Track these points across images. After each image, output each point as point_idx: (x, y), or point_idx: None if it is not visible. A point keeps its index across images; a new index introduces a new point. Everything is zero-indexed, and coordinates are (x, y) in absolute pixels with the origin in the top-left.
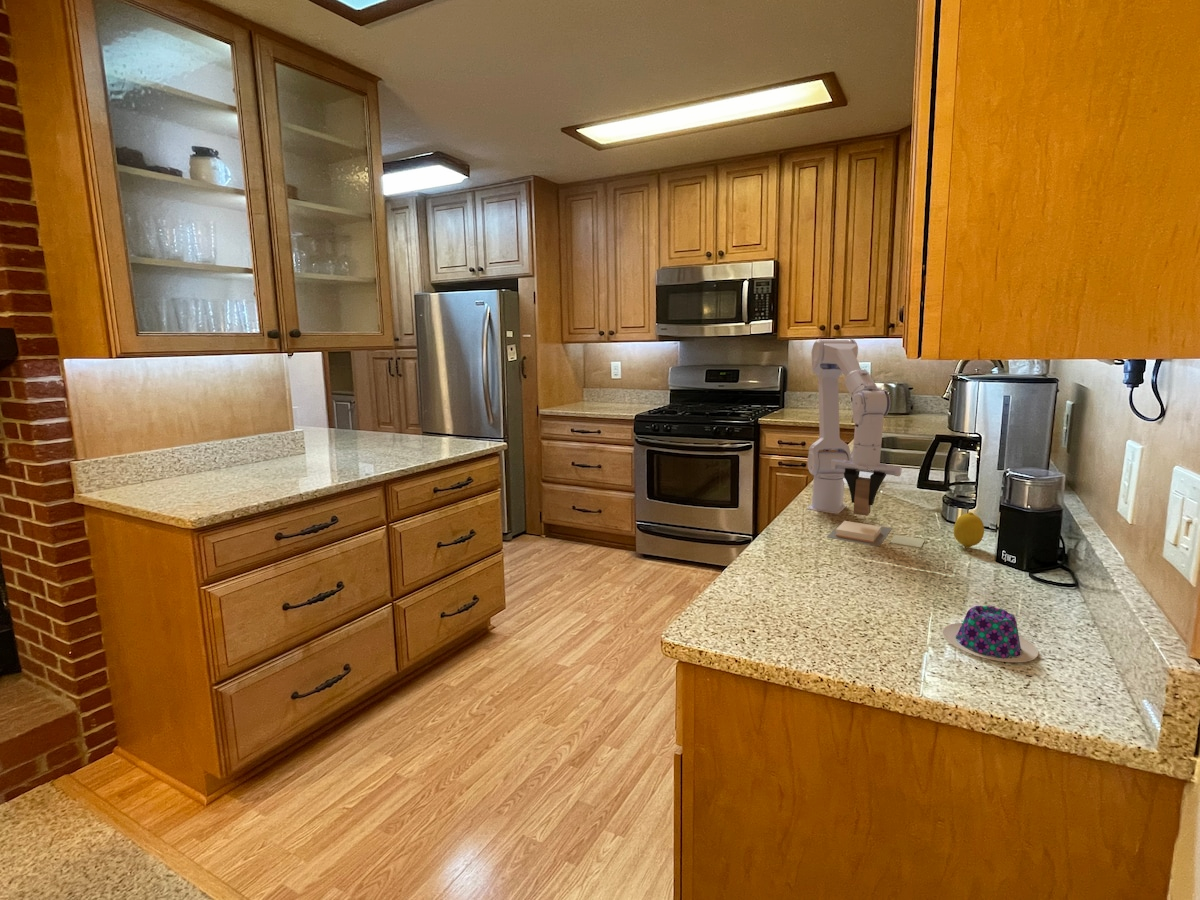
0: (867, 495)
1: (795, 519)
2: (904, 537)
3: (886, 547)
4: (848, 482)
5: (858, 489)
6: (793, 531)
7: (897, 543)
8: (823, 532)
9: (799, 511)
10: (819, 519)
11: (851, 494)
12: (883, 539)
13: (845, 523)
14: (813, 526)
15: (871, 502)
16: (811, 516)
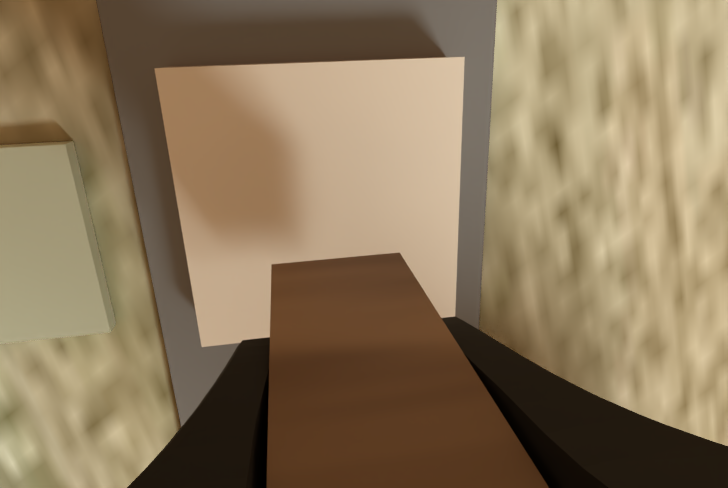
0: (291, 386)
1: (718, 289)
2: (34, 317)
3: (65, 55)
4: (685, 440)
5: (447, 418)
6: (714, 22)
7: (9, 147)
8: (534, 133)
9: (707, 439)
10: (595, 376)
11: (505, 352)
12: (139, 196)
13: (435, 257)
14: (609, 222)
15: (237, 352)
16: (641, 399)
